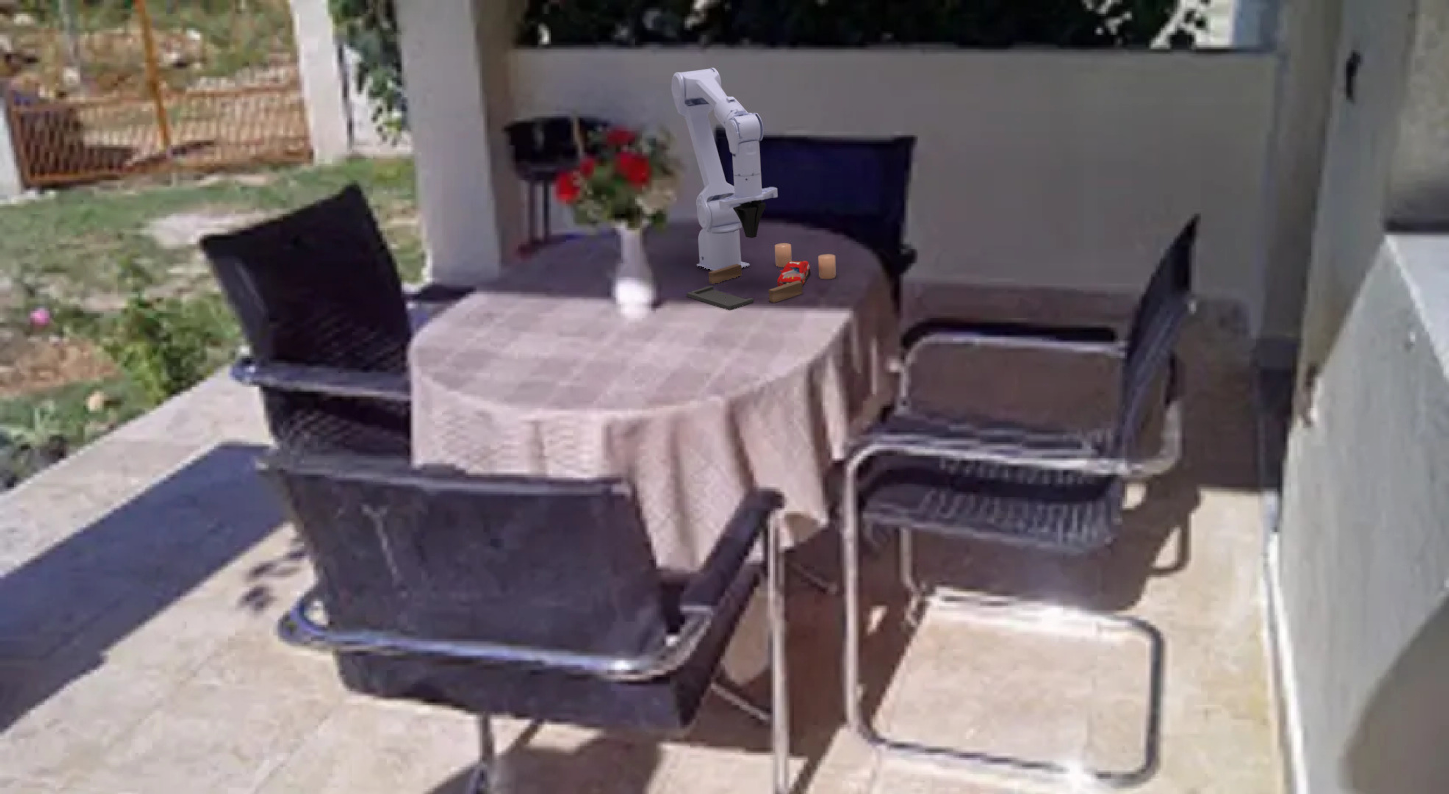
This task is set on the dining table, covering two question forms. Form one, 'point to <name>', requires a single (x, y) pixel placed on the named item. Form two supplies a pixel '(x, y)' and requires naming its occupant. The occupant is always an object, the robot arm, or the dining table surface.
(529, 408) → the dining table surface
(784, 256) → the peach rounded stick
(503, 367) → the dining table surface
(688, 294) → the tray
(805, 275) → the race car
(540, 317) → the dining table surface
